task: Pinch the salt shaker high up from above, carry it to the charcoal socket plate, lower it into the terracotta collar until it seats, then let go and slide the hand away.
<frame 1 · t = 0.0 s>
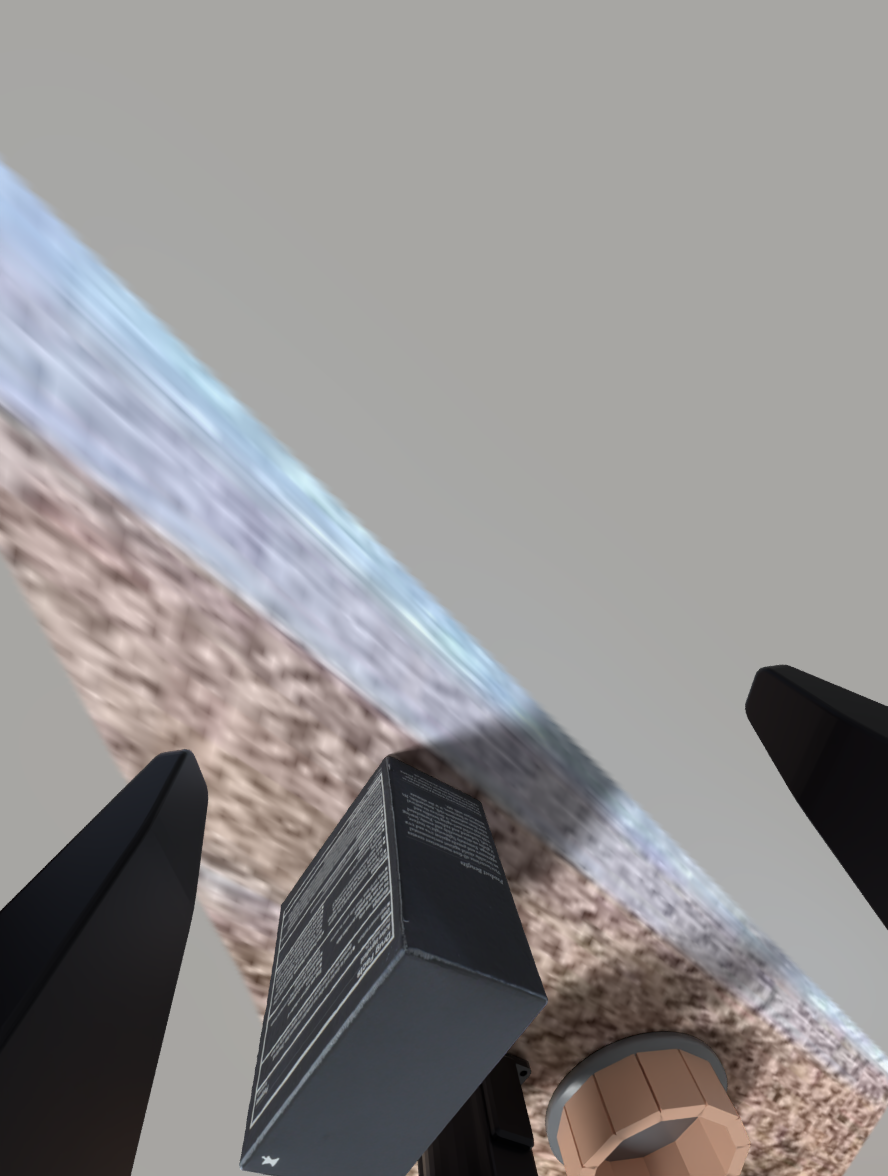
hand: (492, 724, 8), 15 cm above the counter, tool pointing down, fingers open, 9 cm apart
small box: (383, 850, 27), on the counter
socket: (635, 1101, 35), on the counter
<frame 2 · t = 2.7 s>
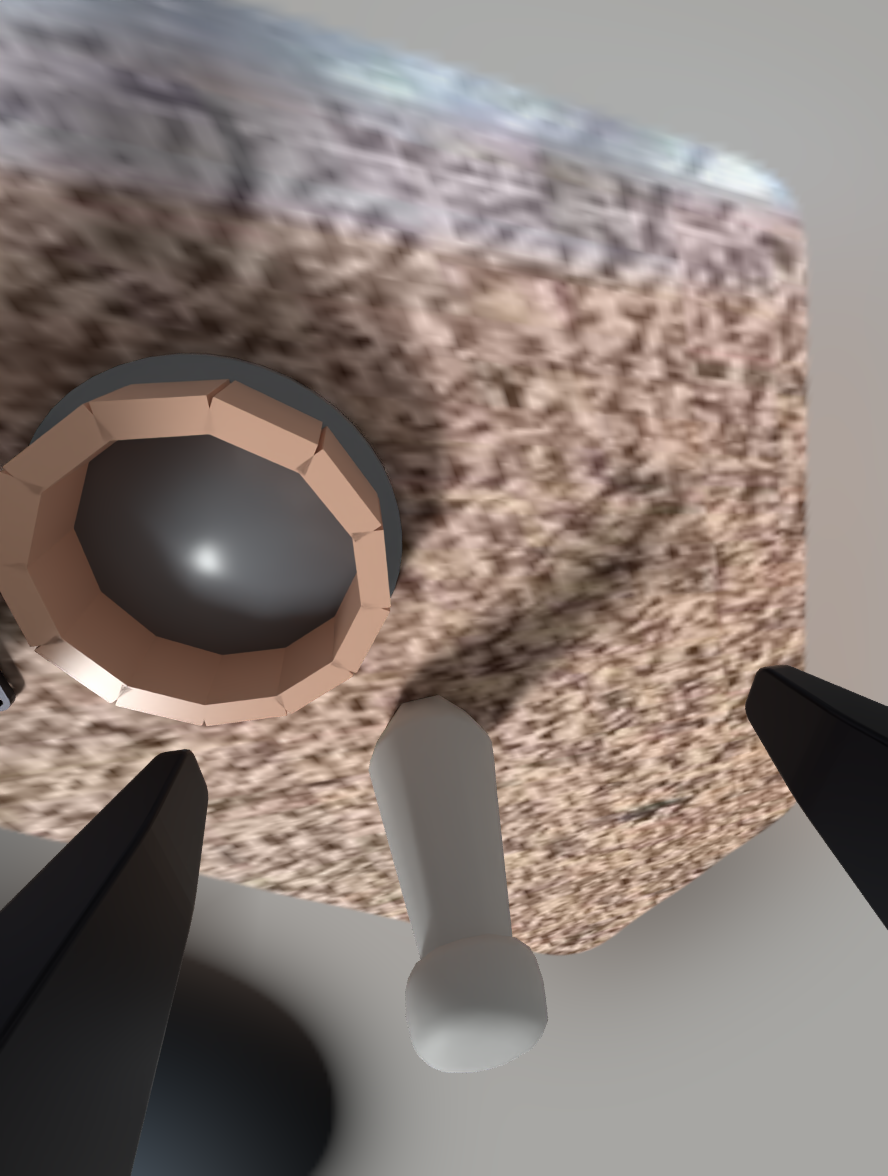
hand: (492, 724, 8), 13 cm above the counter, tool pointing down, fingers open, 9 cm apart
salt shaker: (425, 723, 26), on the counter
socket: (229, 541, 19), on the counter
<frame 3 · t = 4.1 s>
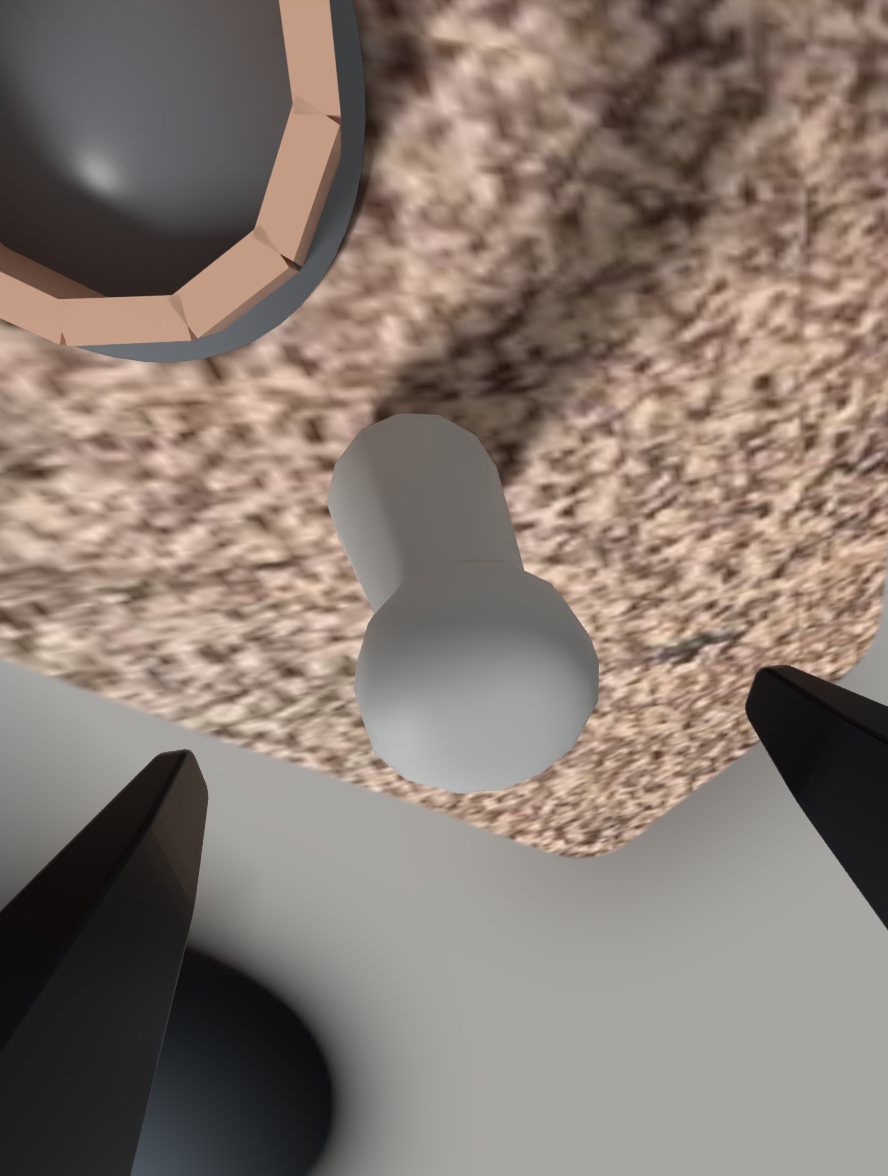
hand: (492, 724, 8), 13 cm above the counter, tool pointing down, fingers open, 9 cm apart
salt shaker: (408, 478, 19), on the counter
socket: (104, 79, 13), on the counter
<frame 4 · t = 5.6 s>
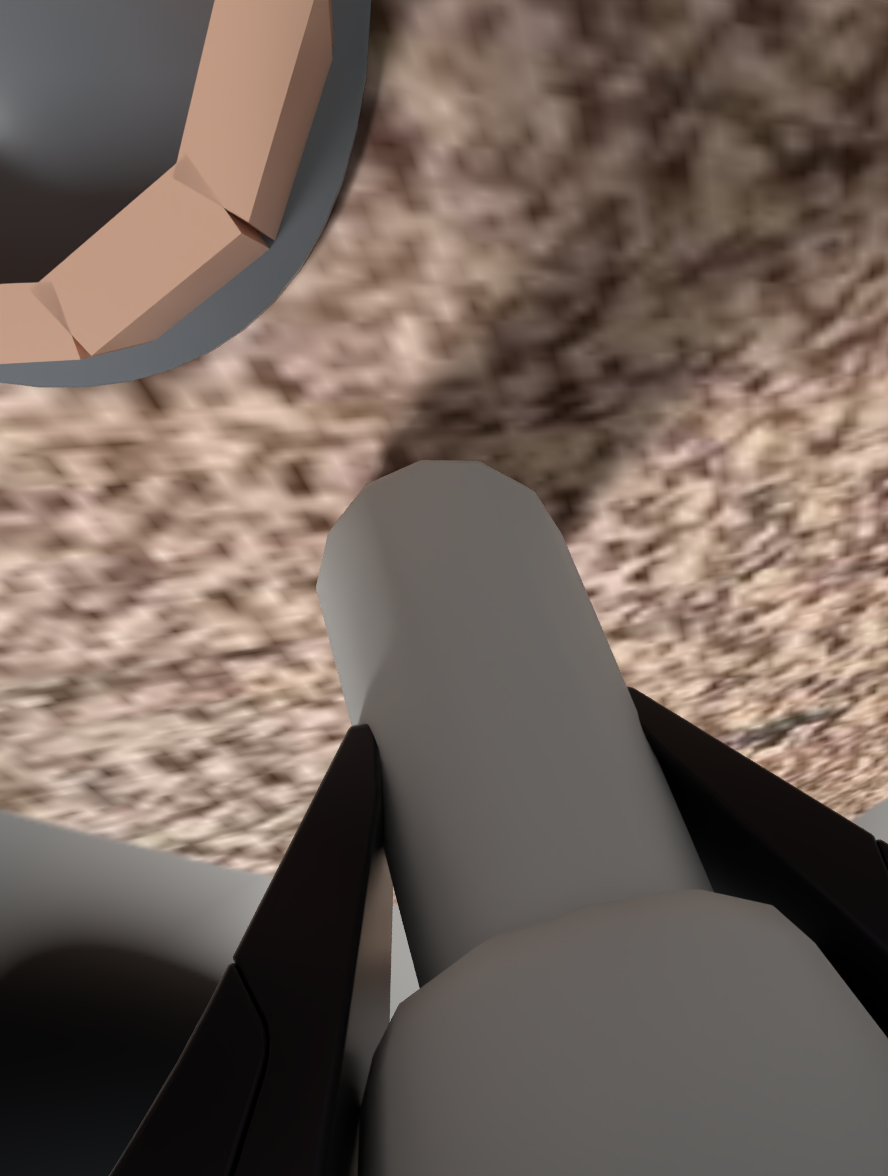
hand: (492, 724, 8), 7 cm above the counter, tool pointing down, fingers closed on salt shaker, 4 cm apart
salt shaker: (430, 537, 14), on the counter, touching gripper
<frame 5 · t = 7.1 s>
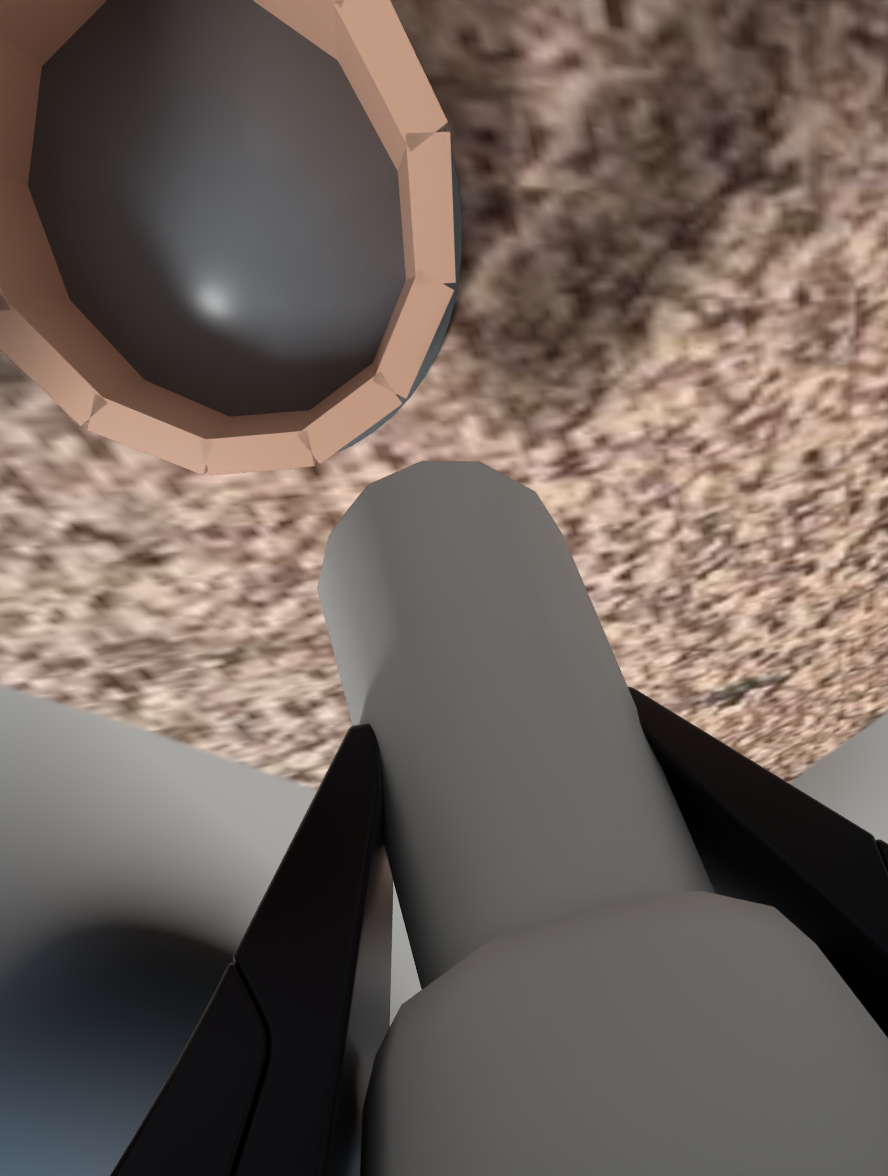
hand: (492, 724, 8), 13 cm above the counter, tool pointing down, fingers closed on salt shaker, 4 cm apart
salt shaker: (431, 538, 14), point 5 cm above the counter, touching gripper
socket: (236, 238, 15), on the counter
when the fingers open (9 cm above the counter, at t = 8.9 s): salt shaker drops 1 cm, resting on socket.
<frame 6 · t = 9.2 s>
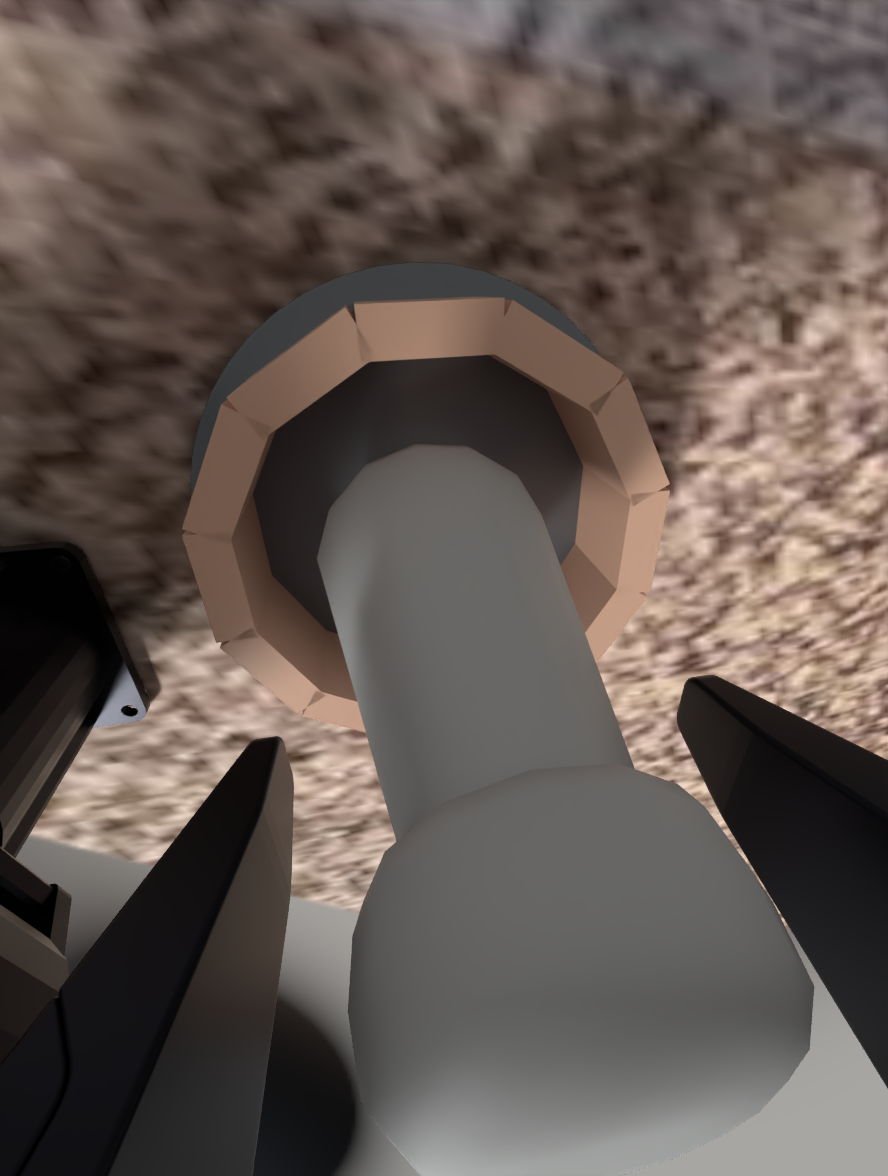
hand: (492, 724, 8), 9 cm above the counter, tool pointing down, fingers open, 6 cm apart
salt shaker: (422, 518, 15), resting on socket
socket: (424, 513, 16), on the counter
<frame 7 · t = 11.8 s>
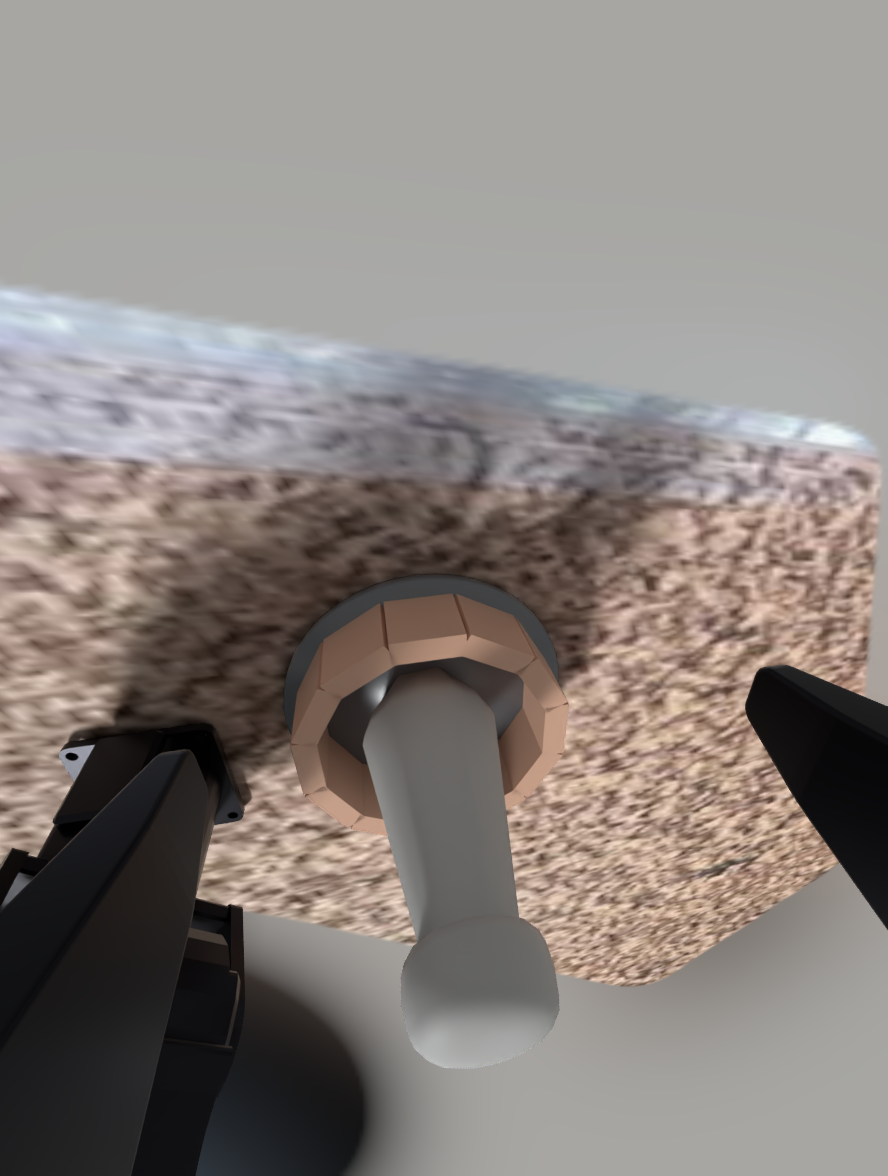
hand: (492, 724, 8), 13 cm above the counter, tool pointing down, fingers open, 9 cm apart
salt shaker: (424, 698, 24), resting on socket
socket: (424, 692, 25), on the counter
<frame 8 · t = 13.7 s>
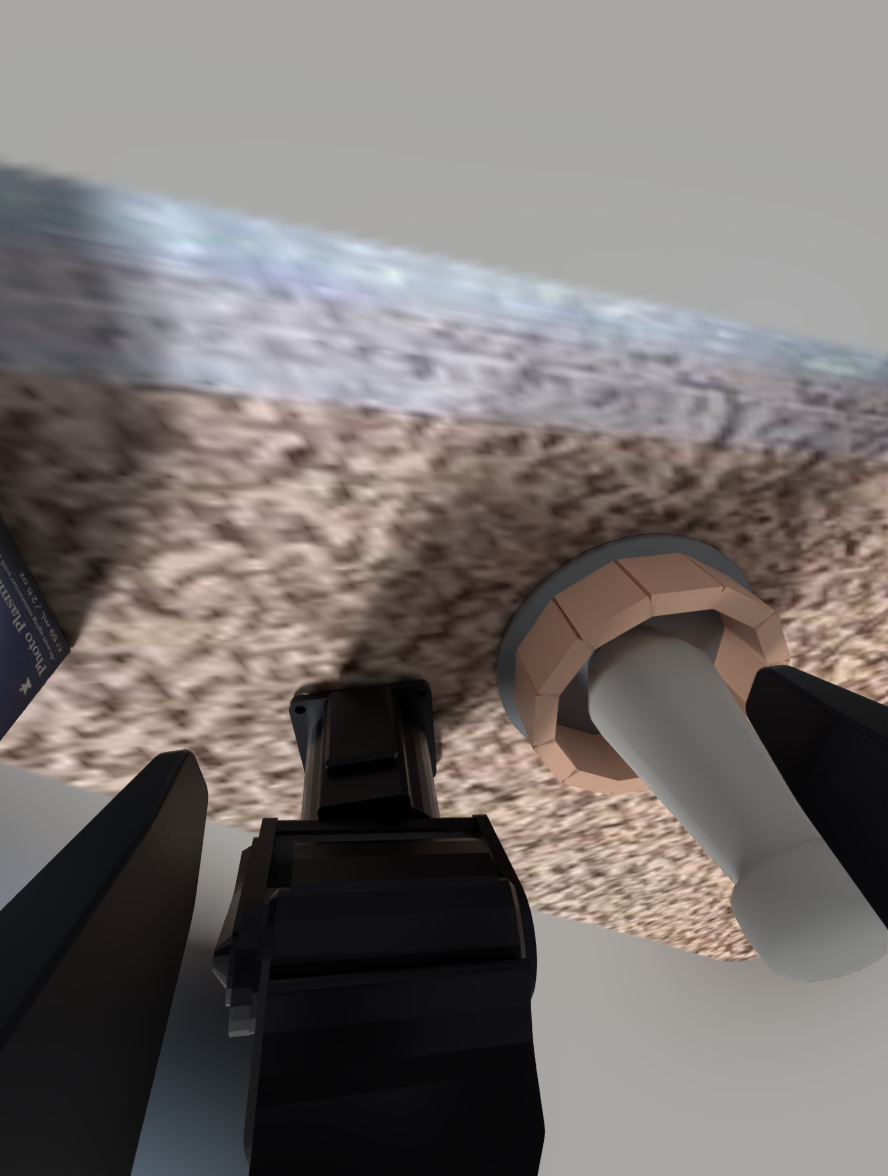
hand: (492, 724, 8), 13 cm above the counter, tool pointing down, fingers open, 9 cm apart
salt shaker: (625, 659, 25), resting on socket
socket: (623, 653, 25), on the counter
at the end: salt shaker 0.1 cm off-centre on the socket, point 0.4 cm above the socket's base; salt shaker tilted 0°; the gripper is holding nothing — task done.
